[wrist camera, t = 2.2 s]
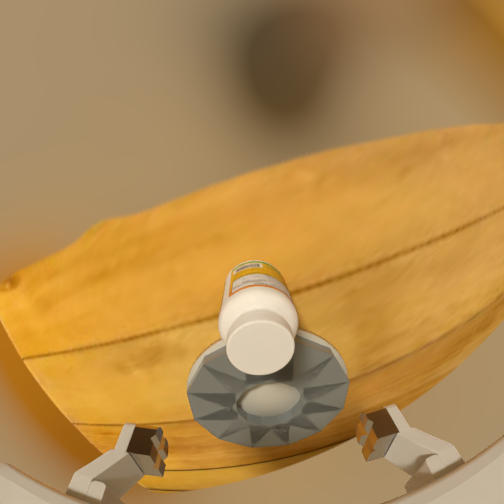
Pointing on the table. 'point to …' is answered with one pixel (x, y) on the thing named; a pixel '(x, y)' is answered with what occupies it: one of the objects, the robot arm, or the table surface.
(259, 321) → the supplement bottle
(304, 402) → the grey faceted round plate
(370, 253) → the table surface
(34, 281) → the table surface
